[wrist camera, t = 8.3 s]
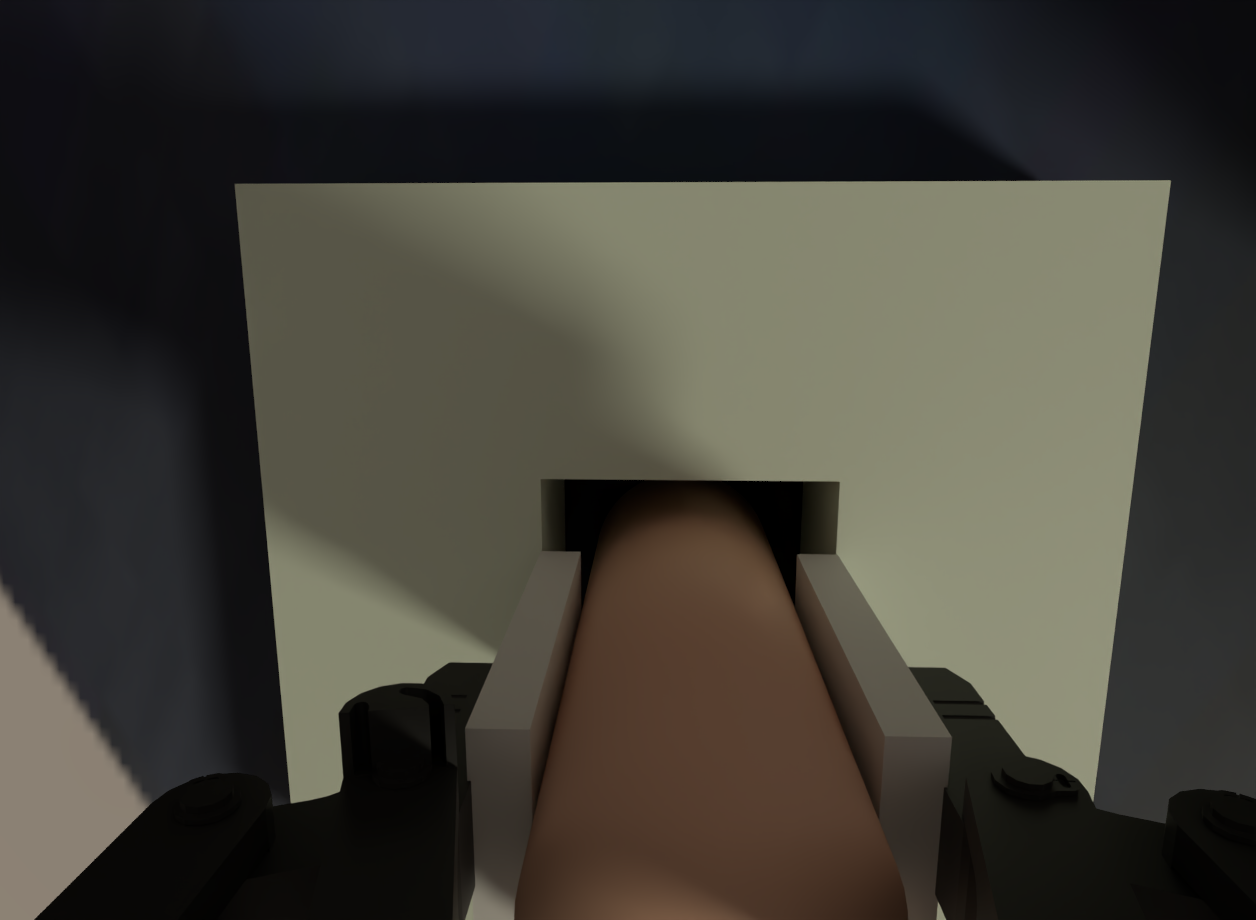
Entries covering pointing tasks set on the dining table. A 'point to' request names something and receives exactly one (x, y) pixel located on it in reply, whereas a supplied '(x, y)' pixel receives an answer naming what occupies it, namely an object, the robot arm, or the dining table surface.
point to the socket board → (701, 411)
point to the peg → (699, 738)
